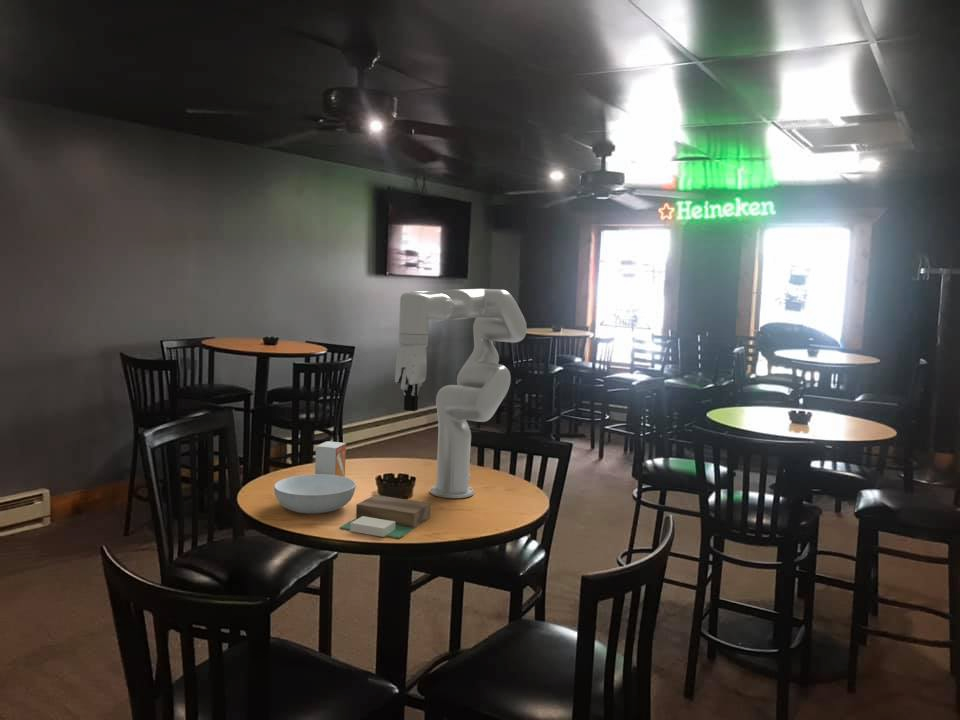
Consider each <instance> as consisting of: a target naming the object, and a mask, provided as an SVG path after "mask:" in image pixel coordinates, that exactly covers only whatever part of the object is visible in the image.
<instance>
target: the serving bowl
mask: <svg viewBox="0 0 960 720" xmlns="http://www.w3.org/2000/svg"><path fill="white" fill-rule="evenodd" d="M356 487H357V485H356V482H355V481H354V480H353V479H351V478H349V477H346V476H345V477H343V476H337V475H325V474H315V473H313V474H302V475H295V476H291V477H286V478H282V479H280V480H278V481H276V482H275V483H274V485H273V489H274V495H275V498H276V500H277V502H279V504H280V505H282V507H284V508H285V509H288V510H290V511H292V512H296V513H302V514H305V513H306V515H321V513H322V514H327V513H329V512H333V511H336V510H338V509H341V508H343V507H344V506H346V505H347V504H348V503H349V502H350V501H351V500H352V499H353V498H354V495H355V491H356Z"/></svg>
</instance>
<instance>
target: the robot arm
mask: <svg viewBox="0 0 960 720" xmlns="http://www.w3.org/2000/svg"><path fill="white" fill-rule="evenodd" d="M399 298H400V301H399V324H398V325H399V327H398V349H397V354H396V361H395V371H394V374H395V375H394V382H395V384H398V385H400V390H402V391H403V395H404V398H403V399H404V400H403V410H404V411H409V412H416V411H418V408H419V394H420V387H422V386H423V383H424V382H425V381H426V380H427V366H428V365H427V361H428V359H427V347H428V345H429V344H428V343H429V322H442V321H443V322H444V321H445V320H467V319H475V320H474V322H473V327H472V330H473V332H472V333H473V346H474V347H473V351H472V352H471V354H470V356H469V357H468V359H467V360H466V361H465V363H464V364H463V365H462V367H461V369H460V370H459V372H458V374H457V376H456V384H448V385H444V386H443V387H441V388H440V389H439V390H438V392H437V394H436V397H435V405H436V411H437V412H436V413H437V422H438V423H437V424H438V426H437V427H438V429H437V431H438V434H437V435H438V436H437V453H436V454H437V456H436V477H435V478H436V480H435V481H436V482H435V485H432V486H431V487H430V493H431V494H432V495H433V496H436V497H439V498H446V499H464V498H468V497H472V496H473V495H475V494H474V493H475V489H474V488H473V487H471V486H470V480H471V478H472V477H471V476H472V475H471V474H470V468H471V467H470V465H471V464H470V463H471V444H472V443H471V442H472V432H471V429H470V425H469V423H468V421H472V422H479V423H480V422H481V423H484V422H488V421H489V420H490V419H492V417H493V416H494V415H495V413H496V412H497V410H498V408H499V406H500V405H501V403H502V402H503V400H504V399H505V397H506V396H507V394H508V391H509V389H510V386H511V372H510V370H509V369H508V368H507V367H506V366H505V365H503V364H500V363H499V361H500V356H499V353H498V351H497V348H496V347H495V345H494V342H504V343H519V342H521V341H523V340H524V339H525V337H526V335H527V331H528V328H527V327H528V326H527V321H526V319H525V316H524V314H523V313H522V310H521V309H520V307H519V305H518V303H517V302H516V300H515V298H514V297H513V296H512V294H511V293H510V292H509V291H507V290H505V289H497V288H496V289H495V288H467V289H466V288H465V289H461V288H460V289H444V290H424V291H423V290H422V291H418V290H417V291H408V292H405V293H402V294H401V296H400V297H399Z"/></svg>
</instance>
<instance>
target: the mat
mask: <svg viewBox="0 0 960 720" xmlns="http://www.w3.org/2000/svg"><path fill="white" fill-rule="evenodd" d="M355 520H356V518H354V519H352V520H351V521H349V522H347V523H345V524H343V525H341V526H339V529H340V530H344V529H346V530H345V531H349V530H350V523H351V522H353V521H355ZM411 530H412V531H413V530H414V529H413V528H410V527H404V526H398V525H395V530H394V531H392V532H391V533H389V534H387V535H386V536H388V537H387V538H390V537H395V538H394V539H396V538H400V537H401V538H403V537H404V536H406V535H407V534H409V533H411ZM408 532H409V533H408ZM405 534H406V535H405ZM403 535H404V536H403ZM402 536H403V537H402ZM401 538H400V539H401Z"/></svg>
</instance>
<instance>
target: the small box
mask: <svg viewBox="0 0 960 720" xmlns="http://www.w3.org/2000/svg"><path fill="white" fill-rule="evenodd" d="M346 454H347V443H346V442H339V441H330V440H329V441H324V442H322V443H320V444H318V445H316V446H315V462H314V466H315V467H314V470H315V471H314V474H325V475H337V476H343V477H346V459H347V458H346V457H347V456H346Z"/></svg>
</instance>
